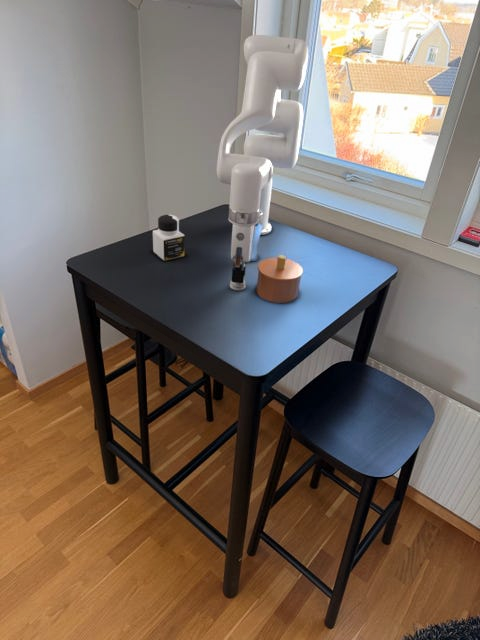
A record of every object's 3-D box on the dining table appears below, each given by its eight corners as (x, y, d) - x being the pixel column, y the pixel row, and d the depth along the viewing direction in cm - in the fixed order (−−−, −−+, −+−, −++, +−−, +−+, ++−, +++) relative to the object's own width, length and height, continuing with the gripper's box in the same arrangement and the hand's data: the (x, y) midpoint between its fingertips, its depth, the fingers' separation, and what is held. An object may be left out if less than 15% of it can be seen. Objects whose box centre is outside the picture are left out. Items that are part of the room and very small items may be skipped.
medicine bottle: (164, 261, 140) (163, 223, 133) (152, 251, 144) (151, 214, 137) (184, 256, 143) (185, 219, 136) (173, 247, 148) (173, 210, 141)
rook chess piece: (233, 281, 133) (235, 256, 128) (247, 285, 131) (250, 260, 127) (226, 288, 129) (228, 263, 125) (242, 293, 128) (244, 267, 123)
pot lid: (259, 258, 131) (260, 244, 129) (302, 263, 131) (304, 249, 128) (255, 279, 121) (257, 264, 119) (302, 285, 121) (305, 270, 118)
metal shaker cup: (256, 264, 143) (261, 217, 134) (234, 260, 143) (237, 213, 135) (260, 254, 148) (265, 209, 140) (238, 250, 149) (242, 205, 141)
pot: (258, 279, 135) (260, 257, 131) (297, 284, 134) (301, 262, 130) (255, 300, 125) (257, 277, 121) (297, 305, 125) (301, 282, 121)
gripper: (255, 229, 111) (248, 295, 122) (260, 205, 125) (254, 266, 135) (224, 225, 112) (220, 291, 122) (233, 202, 125) (228, 263, 136)
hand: (238, 277), depth 128 cm, fingers closed on rook chess piece, 3 cm apart
